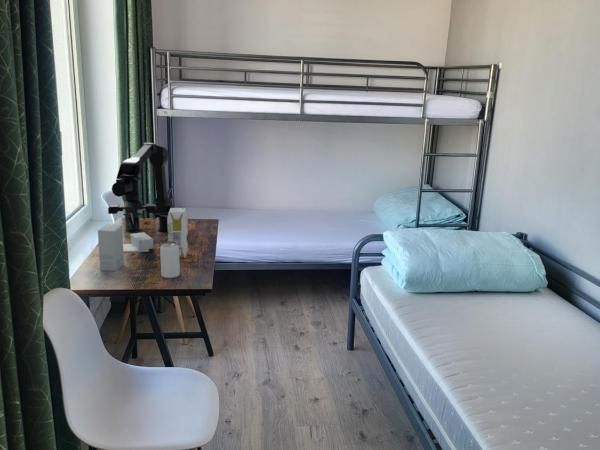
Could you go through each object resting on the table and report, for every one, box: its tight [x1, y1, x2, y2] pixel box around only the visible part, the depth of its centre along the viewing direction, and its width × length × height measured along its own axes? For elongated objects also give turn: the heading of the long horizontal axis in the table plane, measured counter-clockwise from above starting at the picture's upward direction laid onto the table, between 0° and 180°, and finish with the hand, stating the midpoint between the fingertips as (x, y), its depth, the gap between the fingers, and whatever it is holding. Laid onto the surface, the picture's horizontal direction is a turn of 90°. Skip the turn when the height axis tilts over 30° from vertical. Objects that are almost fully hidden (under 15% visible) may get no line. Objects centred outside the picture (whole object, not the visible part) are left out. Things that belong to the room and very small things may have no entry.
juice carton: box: [167, 207, 189, 259], centre depth 201 cm, size 8×9×19 cm
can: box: [159, 240, 181, 279], centre depth 180 cm, size 6×6×12 cm
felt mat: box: [123, 243, 150, 253], centre depth 211 cm, size 10×12×1 cm
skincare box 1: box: [97, 223, 125, 272], centre depth 186 cm, size 8×7×16 cm
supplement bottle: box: [124, 213, 141, 232], centre depth 238 cm, size 7×7×12 cm
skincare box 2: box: [130, 232, 154, 250], centre depth 212 cm, size 6×4×12 cm
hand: (133, 228), depth 211 cm, fingers closed
